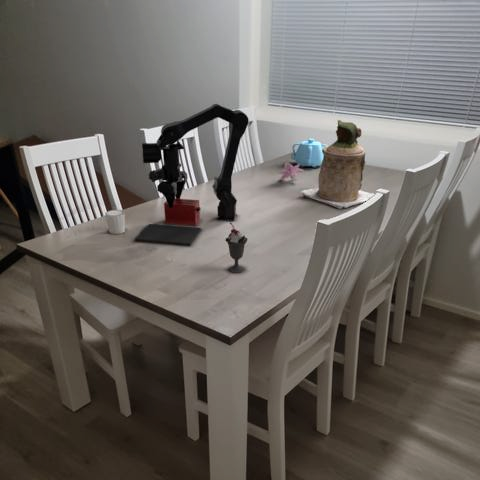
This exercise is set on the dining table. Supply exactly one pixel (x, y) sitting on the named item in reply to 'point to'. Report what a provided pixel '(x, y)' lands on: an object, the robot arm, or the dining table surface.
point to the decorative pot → (308, 153)
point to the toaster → (182, 212)
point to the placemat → (168, 234)
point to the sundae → (236, 248)
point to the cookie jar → (341, 170)
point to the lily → (290, 171)
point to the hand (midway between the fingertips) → (174, 203)
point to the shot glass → (116, 221)
